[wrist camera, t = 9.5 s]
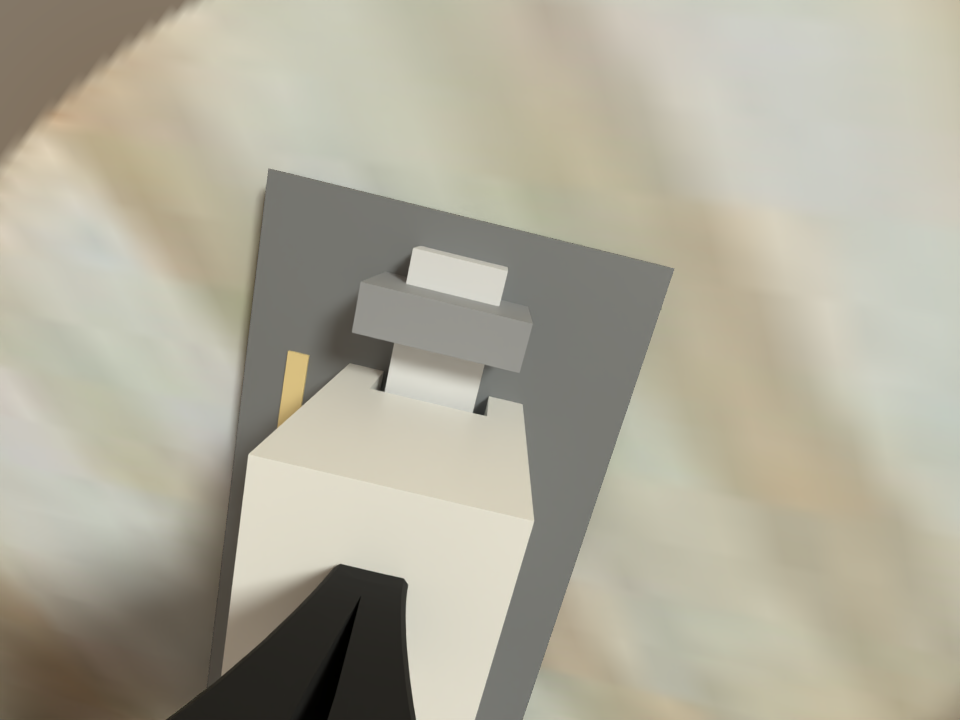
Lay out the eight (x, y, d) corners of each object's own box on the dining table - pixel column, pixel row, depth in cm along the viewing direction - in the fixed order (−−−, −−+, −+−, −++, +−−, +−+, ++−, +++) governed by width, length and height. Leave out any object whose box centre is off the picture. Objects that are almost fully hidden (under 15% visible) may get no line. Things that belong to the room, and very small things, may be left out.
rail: (482, 811, 20) (471, 1106, 13) (211, 749, 20) (62, 1017, 13) (663, 265, 14) (802, 302, 8) (284, 172, 14) (87, 126, 8)
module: (479, 563, 16) (464, 753, 10) (317, 525, 16) (211, 695, 10) (522, 404, 15) (534, 521, 9) (344, 362, 15) (239, 452, 9)
